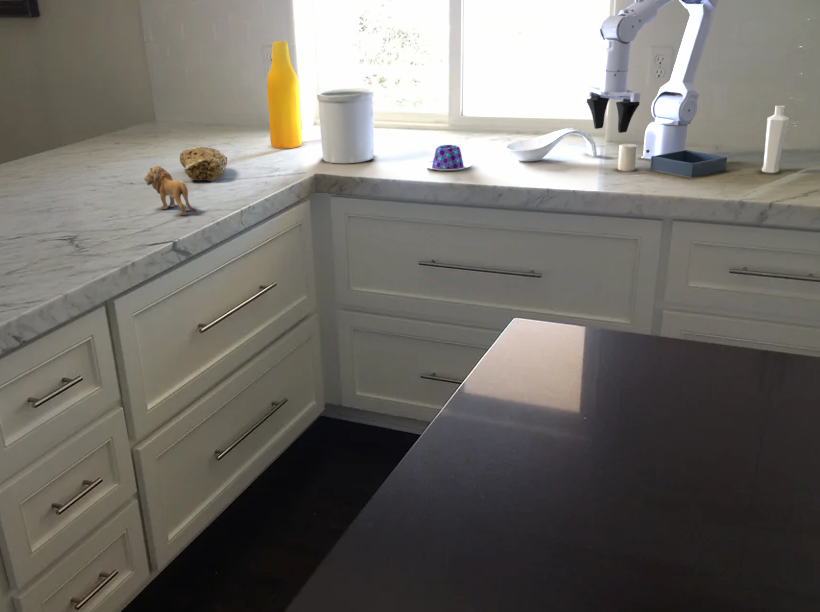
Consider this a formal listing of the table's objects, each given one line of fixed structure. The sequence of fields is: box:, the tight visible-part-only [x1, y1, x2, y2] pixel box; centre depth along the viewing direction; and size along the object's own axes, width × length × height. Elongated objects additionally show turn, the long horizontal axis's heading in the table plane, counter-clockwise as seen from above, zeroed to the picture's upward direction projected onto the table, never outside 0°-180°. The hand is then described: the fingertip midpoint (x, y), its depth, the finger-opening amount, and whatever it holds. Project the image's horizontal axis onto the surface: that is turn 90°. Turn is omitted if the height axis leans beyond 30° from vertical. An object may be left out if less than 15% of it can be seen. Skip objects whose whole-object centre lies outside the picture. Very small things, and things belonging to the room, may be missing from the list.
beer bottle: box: [266, 40, 303, 150], centre depth 249 cm, size 9×9×29 cm
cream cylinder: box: [617, 143, 638, 172], centre depth 208 cm, size 4×4×6 cm
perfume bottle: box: [761, 105, 790, 174], centre depth 199 cm, size 5×4×15 cm
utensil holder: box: [316, 88, 375, 164], centre depth 230 cm, size 15×15×18 cm
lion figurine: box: [143, 165, 198, 216], centre depth 186 cm, size 15×5×9 cm, turn 50°
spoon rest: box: [504, 127, 598, 163], centre depth 224 cm, size 24×12×7 cm, turn 98°
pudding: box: [423, 144, 473, 172], centre depth 218 cm, size 12×12×5 cm
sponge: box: [179, 146, 228, 182], centre depth 220 cm, size 13×8×20 cm
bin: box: [649, 149, 728, 178], centre depth 205 cm, size 12×12×3 cm
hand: (610, 130), depth 207 cm, fingers open, 7 cm apart
